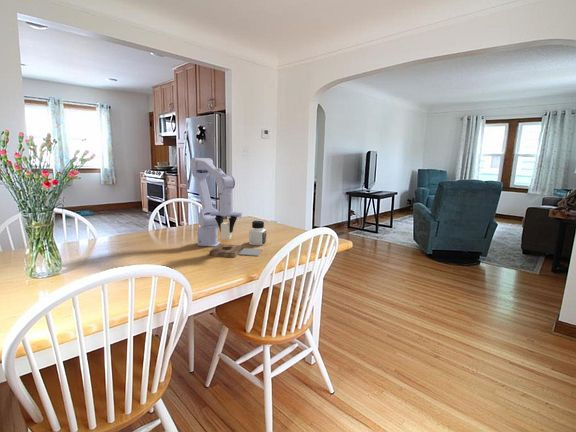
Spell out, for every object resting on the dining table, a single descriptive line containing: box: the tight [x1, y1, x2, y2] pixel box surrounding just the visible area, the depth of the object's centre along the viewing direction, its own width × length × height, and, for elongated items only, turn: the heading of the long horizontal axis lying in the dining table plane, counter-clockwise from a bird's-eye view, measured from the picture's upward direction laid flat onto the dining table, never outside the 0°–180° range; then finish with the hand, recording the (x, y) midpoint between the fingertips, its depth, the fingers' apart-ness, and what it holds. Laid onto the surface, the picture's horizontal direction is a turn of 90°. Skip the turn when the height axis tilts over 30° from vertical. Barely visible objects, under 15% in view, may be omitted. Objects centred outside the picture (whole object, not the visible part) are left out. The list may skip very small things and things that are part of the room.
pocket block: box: [209, 243, 243, 258], centre depth 148 cm, size 12×12×2 cm
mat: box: [238, 247, 263, 257], centre depth 149 cm, size 9×9×1 cm
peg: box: [220, 221, 233, 240], centre depth 146 cm, size 4×4×7 cm
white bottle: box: [248, 219, 267, 246], centre depth 163 cm, size 7×7×12 cm
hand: (226, 231), depth 146 cm, fingers closed on peg, 4 cm apart
